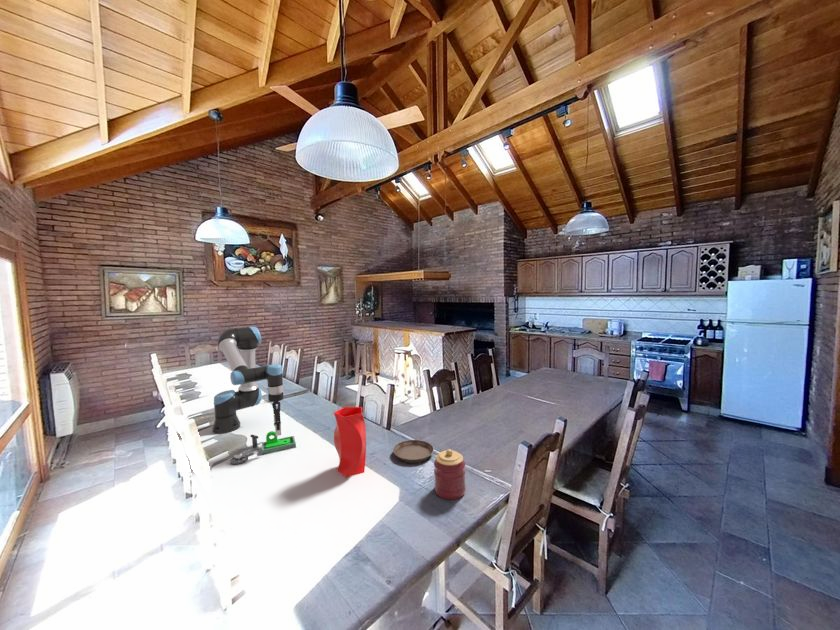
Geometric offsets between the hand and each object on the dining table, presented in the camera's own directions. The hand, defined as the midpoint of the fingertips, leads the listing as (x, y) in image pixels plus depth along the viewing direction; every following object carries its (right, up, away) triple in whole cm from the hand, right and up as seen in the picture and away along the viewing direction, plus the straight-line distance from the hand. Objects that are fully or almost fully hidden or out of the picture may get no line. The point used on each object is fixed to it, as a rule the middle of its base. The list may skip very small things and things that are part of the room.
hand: (277, 430), depth 178 cm
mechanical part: (0, -9, 0) cm, 9 cm away
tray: (+1, -9, 0) cm, 9 cm away
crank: (-12, -9, -10) cm, 18 cm away
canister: (+91, -10, -43) cm, 102 cm away
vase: (+46, -10, -25) cm, 53 cm away
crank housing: (-14, -11, -14) cm, 22 cm away
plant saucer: (+75, -8, -12) cm, 77 cm away
